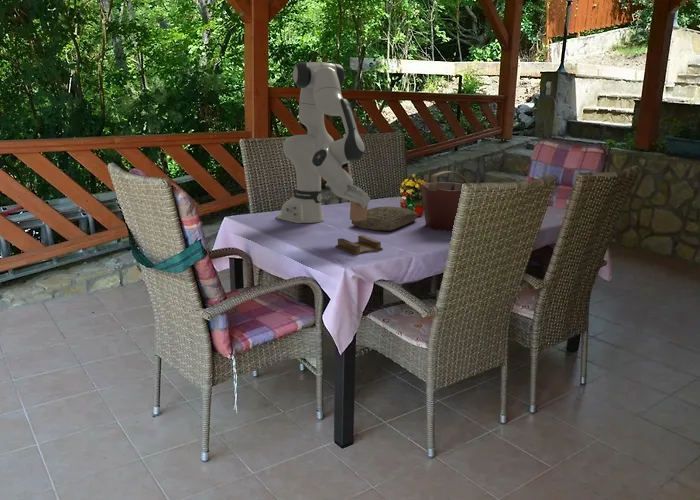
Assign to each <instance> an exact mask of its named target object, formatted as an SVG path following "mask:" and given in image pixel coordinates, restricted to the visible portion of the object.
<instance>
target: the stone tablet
mask: <svg viewBox="0 0 700 500" xmlns="http://www.w3.org/2000/svg"><path fill="white" fill-rule="evenodd" d="M417 218H418V213H417V212H416V211H413V210H411V209H409V208H404V207H401V206H400V207H398V206H391V205H390V206H378V207H372V208H367V220H361V221H353V220H351V224H352V225H353V226H355V227H356V228H360V229H364V230H369V231H370V230H372V231H374V230H375V231H385V232H386V231H388V232H389V231H394V230H397V229H400V228H401V227H403V226H405V225H408V224H410V223H412V222H415V221H416V219H417Z"/></svg>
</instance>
